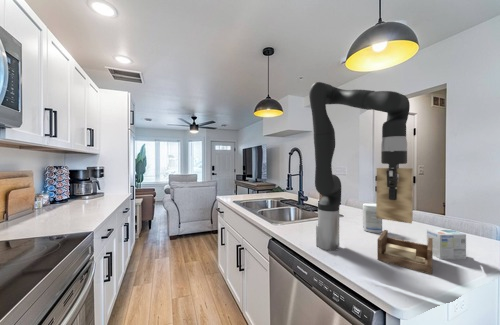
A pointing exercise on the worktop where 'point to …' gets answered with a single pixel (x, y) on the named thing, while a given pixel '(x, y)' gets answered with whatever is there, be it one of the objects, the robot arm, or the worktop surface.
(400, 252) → the pine offcut top
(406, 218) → the oak board
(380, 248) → the rack
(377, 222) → the supplement tub
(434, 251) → the light bulb box
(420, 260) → the pine offcut bottom
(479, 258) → the worktop surface
